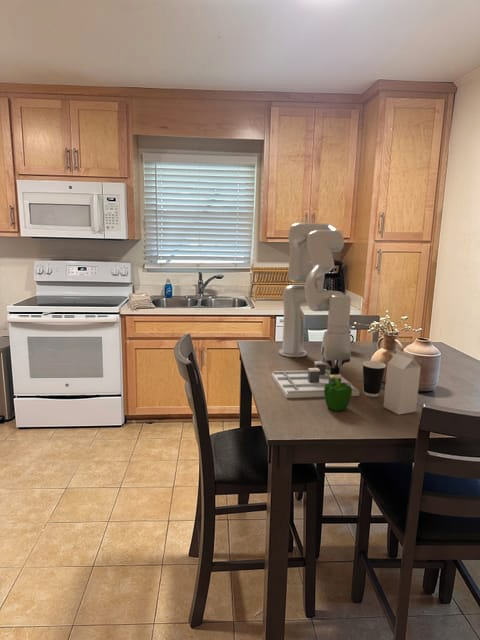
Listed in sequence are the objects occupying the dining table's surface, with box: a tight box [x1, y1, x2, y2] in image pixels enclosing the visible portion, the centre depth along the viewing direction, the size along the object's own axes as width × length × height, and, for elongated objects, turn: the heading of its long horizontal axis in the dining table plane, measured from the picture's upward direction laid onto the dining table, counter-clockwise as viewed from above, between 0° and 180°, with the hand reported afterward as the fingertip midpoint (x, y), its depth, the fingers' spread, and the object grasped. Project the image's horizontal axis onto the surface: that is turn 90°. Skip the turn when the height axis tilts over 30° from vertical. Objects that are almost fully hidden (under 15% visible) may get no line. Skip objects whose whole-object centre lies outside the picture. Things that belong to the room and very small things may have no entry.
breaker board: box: [271, 369, 360, 399], centre depth 165 cm, size 22×26×2 cm
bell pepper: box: [324, 377, 352, 412], centre depth 144 cm, size 8×8×10 cm
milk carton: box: [383, 349, 422, 415], centre depth 143 cm, size 7×7×19 cm
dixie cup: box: [361, 360, 387, 397], centre depth 157 cm, size 8×8×11 cm
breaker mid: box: [307, 367, 320, 382], centre depth 164 cm, size 2×4×5 cm, turn 99°
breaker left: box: [313, 360, 327, 375], centre depth 173 cm, size 2×4×5 cm, turn 99°
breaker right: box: [329, 374, 341, 383], centre depth 157 cm, size 2×4×5 cm, turn 99°
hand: (334, 377), depth 166 cm, fingers closed
